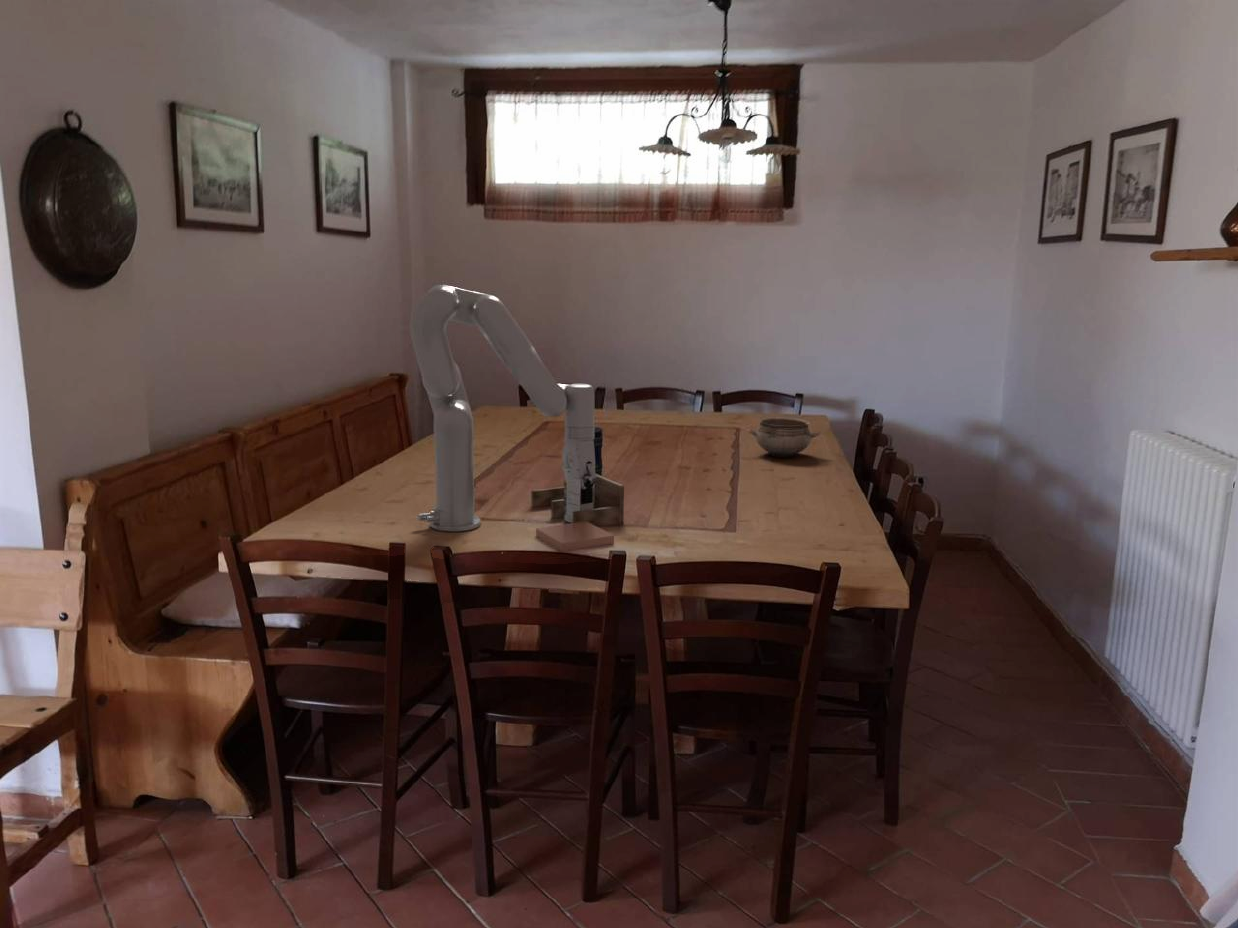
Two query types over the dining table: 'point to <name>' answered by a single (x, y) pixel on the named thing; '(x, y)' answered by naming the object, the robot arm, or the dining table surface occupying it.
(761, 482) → the dining table surface
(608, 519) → the walnut rack
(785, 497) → the dining table surface
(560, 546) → the terracotta tile
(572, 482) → the syrup box
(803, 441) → the cooking pot
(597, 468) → the storage jar
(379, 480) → the dining table surface
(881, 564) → the dining table surface
